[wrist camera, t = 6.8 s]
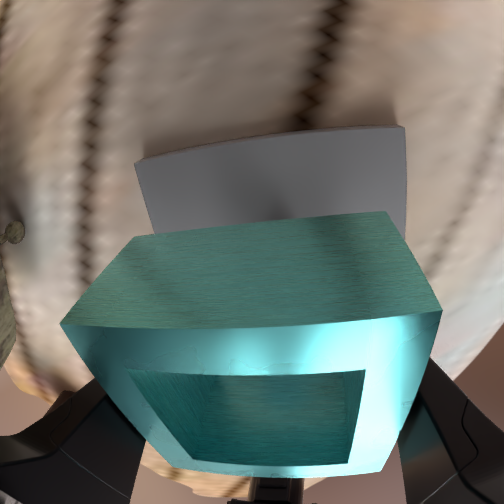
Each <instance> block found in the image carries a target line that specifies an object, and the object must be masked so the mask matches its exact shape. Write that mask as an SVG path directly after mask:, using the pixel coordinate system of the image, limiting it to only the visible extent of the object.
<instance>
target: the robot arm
mask: <svg viewBox="0 0 504 504" xmlns="http://www.w3.org/2000/svg"><path fill="white" fill-rule="evenodd" d="M145 442H146V439H145V438H144V437H143V436H142V435H141V433H140V432H139V431H138V430H137V429H136V428H135V427H134V426H133V424H132V423H131V422H130V421H129V420H128V419H127V417H126V416H125V415H124V414H123V413H122V411H121V410H120V409H119V408H118V407H117V405H116V404H115V403H114V402H113V400H112V399H111V398H110V397H109V395H108V394H107V393H106V391H105V390H104V389H103V388H102V386H101V385H100V384H99V382H98V381H97V379H96V378H94V379H93V380H91V381H90V382H89V383H88V384H86V385H85V386H84V387H83V388H81V389H80V390H79V391H77V392H76V393H75V394H74V395H73V396H72V397H70V398H69V399H67V400H66V401H65V402H64V403H62V404H61V405H60V406H58V407H57V408H56V409H54V410H53V411H52V412H50V413H49V414H47V415H46V416H44V417H43V418H41V419H40V420H39V421H37V422H35V423H34V424H32V425H31V426H29V427H28V428H26V429H25V430H23V431H21V432H20V433H17V434H14V435H10V436H0V504H129V503H130V499H131V495H132V491H133V487H134V483H135V479H136V475H137V472H138V468H139V464H140V460H141V457H142V453H143V449H144V446H145ZM397 442H398V447H399V453H400V458H401V465H402V472H403V479H404V486H405V494H406V502H407V504H504V432H503V431H502V430H501V429H500V428H498V427H497V426H496V425H495V424H494V423H493V422H492V421H491V420H490V419H489V418H487V417H486V416H485V414H484V413H482V411H480V409H479V408H478V407H477V406H476V405H475V404H474V403H473V402H472V401H471V400H470V399H468V397H467V396H466V395H465V393H464V392H463V391H462V390H461V389H460V388H459V387H458V386H457V385H456V384H455V383H454V382H453V381H452V380H451V379H450V378H449V376H448V375H447V374H446V373H445V372H444V371H443V370H442V369H441V368H440V367H439V366H438V365H437V364H436V363H435V362H434V361H433V360H432V359H431V358H430V357H429V360H428V363H427V366H426V369H425V372H424V374H423V377H422V380H421V383H420V385H419V388H418V391H417V393H416V396H415V398H414V401H413V403H412V406H411V408H410V411H409V413H408V415H407V418H406V420H405V422H404V425H403V427H402V429H401V431H400V433H399V436H398V438H397ZM303 490H304V478H273V477H251V480H250V487H249V493H248V499H247V501H241V500H237V499H232V500H231V501H228V502H227V504H302V503H303ZM312 504H316V503H312Z"/></svg>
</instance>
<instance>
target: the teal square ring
mask: <svg viewBox="0 0 504 504" xmlns="http://www.w3.org/2000/svg"><path fill="white" fill-rule="evenodd" d="M442 311H443V310H442V308H441V306H440V304H439V302H438V300H437V298H436V296H435V294H434V292H433V290H432V288H431V286H430V284H429V283H428V281H427V279H426V277H425V275H424V273H423V272H422V270H421V268H420V266H419V265H418V263H417V261H416V259H415V258H414V256H413V254H412V252H411V251H410V249H409V247H408V246H407V244H406V242H405V241H404V239H403V237H402V236H401V234H400V233H399V231H398V229H397V228H396V226H395V225H394V223H393V221H392V220H391V218H390V217H389V215H388V214H387V212H386V211H377V212H364V213H352V214H340V215H328V216H317V217H306V218H295V219H285V220H275V221H265V222H255V223H246V224H236V225H227V226H218V227H209V228H201V229H192V230H184V231H175V232H167V233H159V234H151V235H144V236H136V237H134V238H133V239H132V240H131V241H130V242H129V243H128V244H127V245H126V246H125V247H124V248H123V249H122V250H121V252H120V253H119V254H118V255H117V256H116V257H115V258H114V259H113V260H112V262H111V263H110V264H109V265H108V266H107V267H106V268H105V269H104V271H103V272H102V273H101V274H100V275H99V276H98V277H97V279H96V280H95V281H94V282H93V283H92V284H91V286H90V287H89V288H88V289H87V290H86V291H85V293H84V294H83V295H82V296H81V297H80V299H79V300H78V301H77V302H76V304H75V305H74V306H73V307H72V308H71V310H70V311H69V312H68V313H67V315H66V316H65V317H64V318H63V320H62V321H61V322H60V325H61V327H62V329H63V330H64V332H65V334H66V335H67V337H68V338H69V340H70V342H71V343H72V345H73V346H74V348H75V349H76V351H77V352H78V354H79V355H80V357H81V358H82V360H83V361H84V363H85V364H86V366H87V367H88V368H89V370H90V371H91V373H92V374H93V375H94V377H95V378H96V379H97V381H98V382H99V384H100V385H101V386H102V388H103V389H104V390H105V391H106V393H107V394H108V395H109V397H110V398H111V399H112V400H113V402H114V403H115V404H116V405H117V407H118V408H119V409H120V410H121V411H122V413H123V414H124V415H125V416H126V417H127V419H128V420H129V421H130V422H131V423H132V424H133V426H134V427H135V428H136V429H137V430H138V431H139V432H140V433H141V435H142V436H143V437H144V438H145V439H146V440H147V441H148V442H149V443H150V444H151V445H152V446H153V447H154V448H155V449H156V451H157V452H158V453H159V454H160V455H161V456H162V457H163V458H164V459H165V460H166V461H167V462H168V463H169V464H170V465H171V466H173V467H176V468H182V469H188V470H194V471H201V472H209V473H217V474H226V475H237V476H251V477H273V478H307V477H329V476H343V475H352V474H362V473H370V472H378V471H381V469H382V467H383V466H384V464H385V462H386V460H387V458H388V456H389V454H390V452H391V450H392V448H393V446H394V444H395V442H396V440H397V438H398V436H399V433H400V431H401V429H402V427H403V425H404V422H405V420H406V418H407V415H408V413H409V411H410V408H411V406H412V403H413V401H414V398H415V396H416V393H417V391H418V388H419V385H420V383H421V380H422V377H423V374H424V372H425V369H426V366H427V363H428V360H429V357H430V354H431V350H432V347H433V344H434V340H435V337H436V334H437V330H438V326H439V323H440V319H441V315H442Z"/></svg>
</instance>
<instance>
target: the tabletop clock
mask: <svg viewBox="0 0 504 504" xmlns="http://www.w3.org/2000/svg"><path fill="white" fill-rule="evenodd" d="M24 236H25V228H24V226H23V224H22V223H21V222H19V221H12V222H10V223H9V224H8V225H7V227H6V229H5V233H4V234H2V235H0V245H1V244H3V243H4V242H6V241H7V240H8V241H9V242H10V243H12V244H17V243H20V242H21V241H22V240H23V238H24ZM15 341H16V323H15V317H14V312H13V308H12V304H11V300H10V295H9V291H8V286H7V281H6V276H5V271H4V268H3V264H2V260H1V256H0V369H1V368H2V366H3V364H4V363H5V361H6V359H7V357H8V356H9V354H10V352H11V350H12V347H13V345H14V343H15Z"/></svg>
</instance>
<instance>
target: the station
mask: <svg viewBox="0 0 504 504" xmlns="http://www.w3.org/2000/svg"><path fill="white" fill-rule="evenodd" d="M134 166H135V169H136V173H137V177H138V180H139V184H140V187H141V190H142V194H143V197H144V201H145V204H146V207H147V210H148V214H149V217H150V220H151V223H152V226H153V229H154V233H155V234H159V233H167V232H175V231H184V230H192V229H201V228H209V227H218V226H227V225H236V224H246V223H255V222H265V221H275V220H285V219H295V218H306V217H317V216H328V215H340V214H352V213H364V212H377V211H386V212H387V214H388V215H389V217H390V218H391V220H392V221H393V223H394V225H395V226H396V228H397V229H398V231H399V233H400V234H401V236H402V237H403V239H404V241H405V226H406V192H407V173H406V140H405V128H404V127H402V126H399V125H372V126H352V127H337V128H324V129H313V130H303V131H294V132H285V133H277V134H270V135H262V136H255V137H249V138H242V139H236V140H230V141H224V142H218V143H213V144H207V145H202V146H197V147H192V148H187V149H182V150H178V151H173V152H169V153H164V154H160V155H156V156H151V157H147V158H143V159H141V160H140V161H138V162H136V163H134Z"/></svg>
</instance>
